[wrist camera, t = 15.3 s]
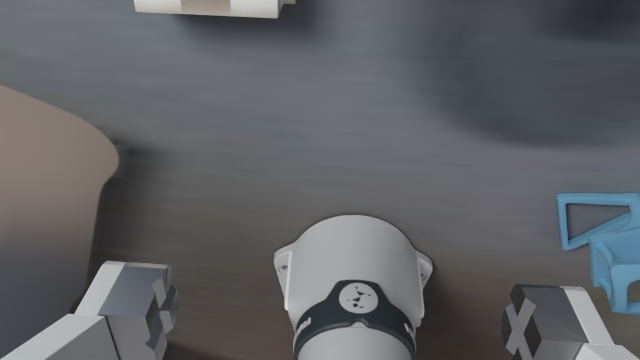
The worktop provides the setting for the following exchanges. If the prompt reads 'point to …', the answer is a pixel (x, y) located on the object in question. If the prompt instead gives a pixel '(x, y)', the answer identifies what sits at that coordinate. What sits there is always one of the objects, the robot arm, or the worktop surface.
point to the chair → (609, 245)
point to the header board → (215, 7)
